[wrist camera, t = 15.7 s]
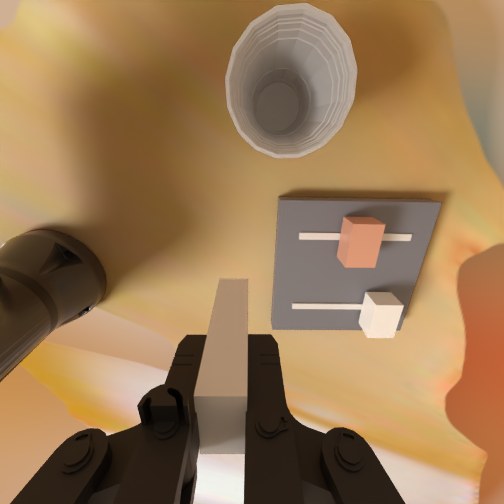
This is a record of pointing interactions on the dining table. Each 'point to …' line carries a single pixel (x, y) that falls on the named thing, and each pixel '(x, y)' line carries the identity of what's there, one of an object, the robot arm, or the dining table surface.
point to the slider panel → (329, 266)
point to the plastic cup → (291, 80)
